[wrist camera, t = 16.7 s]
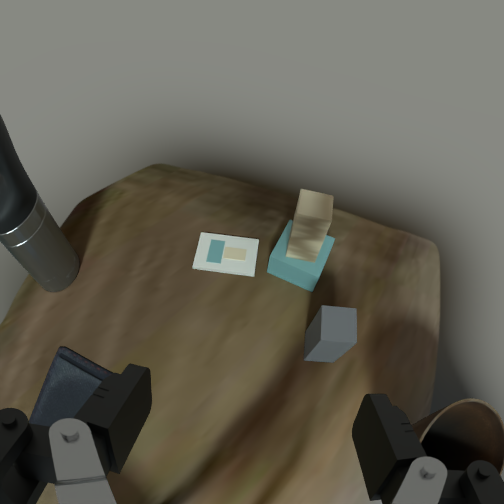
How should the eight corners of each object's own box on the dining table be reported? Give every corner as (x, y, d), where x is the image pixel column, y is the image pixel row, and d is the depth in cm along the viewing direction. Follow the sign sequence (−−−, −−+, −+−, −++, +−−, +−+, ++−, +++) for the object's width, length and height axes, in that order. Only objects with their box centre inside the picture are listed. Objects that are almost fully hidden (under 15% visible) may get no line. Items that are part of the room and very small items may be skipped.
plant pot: (437, 409, 38) (505, 388, 25) (436, 493, 30) (504, 498, 17) (354, 420, 38) (410, 408, 25) (350, 513, 30) (403, 540, 17)
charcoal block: (303, 360, 43) (320, 340, 35) (305, 331, 46) (321, 305, 37) (333, 362, 43) (356, 342, 35) (334, 334, 46) (356, 308, 37)
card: (192, 268, 51) (192, 266, 50) (201, 234, 54) (201, 231, 54) (254, 276, 50) (254, 274, 50) (258, 241, 54) (259, 239, 54)
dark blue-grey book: (58, 340, 41) (136, 384, 39) (63, 344, 42) (140, 386, 40) (14, 442, 30) (89, 498, 28) (21, 443, 32) (95, 496, 30)
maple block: (285, 256, 47) (296, 213, 39) (289, 233, 50) (300, 188, 41) (314, 262, 47) (331, 220, 38) (317, 239, 49) (333, 195, 41)
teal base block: (266, 272, 51) (269, 256, 47) (285, 237, 55) (289, 219, 51) (311, 292, 50) (319, 277, 45) (327, 255, 54) (335, 238, 49)
